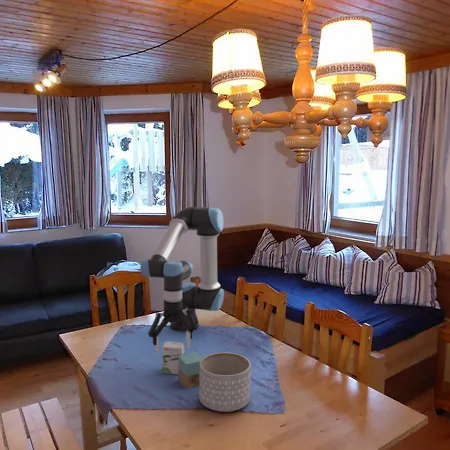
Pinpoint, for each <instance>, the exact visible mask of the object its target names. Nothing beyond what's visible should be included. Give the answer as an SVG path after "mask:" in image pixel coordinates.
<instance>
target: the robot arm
mask: <svg viewBox="0 0 450 450" xmlns="http://www.w3.org/2000/svg"><path fill="white" fill-rule="evenodd" d="M224 221H225V220H224V216H223V212H222V211H221V209H219V208H217V207H208V206H206V207H203V206H201V207H200V206H189V207H185V208H183V209H181V210H180V211H178V212H177V213H176V214H174V216H172V218H171V219H170V222H169V223H168V224H169V225H168V228H167V230H166V232H165V233H164V236H163V237H162V239H161V241H160V243H159V244H158V245H157V247H156V249H155V251H154V252H153V254H152V255H151V257H150V258H148V259H146V258H145V259H143V260H142V261H141V262H140V269H139V270H140V273H141V275H142V276H143V277H147V278H159V279H163V299H164V300H163V311H162V312H158V311H157V312H155V318H154V319H153V322H152V324H151V327H150V328H149V331H148V333H147V335H148V336H149V337H150V338H152V344H153V346H154V352H155V353H156V354H159V353H160V347H159V343H160V341H159V340H160V337H159V335H160V334H161V333H162V331H163V330H164V328H165V327H166V326H167V325H168V324H170V325H169V326H170V329H171V330H174V331H177V332H185V334H186V335H185V336H186V339H185V342H186V343H185V346H186V347H187V348H188V349H190V348H191V340H193V333H194V331H196V330H197V329H198V328H199V327H200V326H199V324H200V323H199V318H198V315H197V312H196V310H200V311H201V310H203V311H209V312H211V311H214V312H218V311H219V310H221V308H222V306H223V303H224V298H225V290H224V289H223V288H221V284H220V282H219V281H218V236H219V235H221V232H223V229H224V224H225V222H224ZM190 230H191V231H196V235H197V236H198V237H199V252H200V254H199V257H200V259H199V262H200V263H199V264H200V282H199V283H198V284H196V283H195V282H192V281H190V282H189V281H188V282H186V281H185V282H183V281H184V280H187V279H188V278H190V277H191V275H193V273H194V265H193V263H191V261H189V260H185V259H184V260H180V261H179V260H170V259H171V257H172V256H173V254H174V252H175V250H176V248H177V246H178V244H179V242H180V241H181V239H182V237H183V235H185V234H186V233H187V232H188V231H190ZM162 317H163V319H162ZM161 319H162V321H160V320H161Z"/></svg>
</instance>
